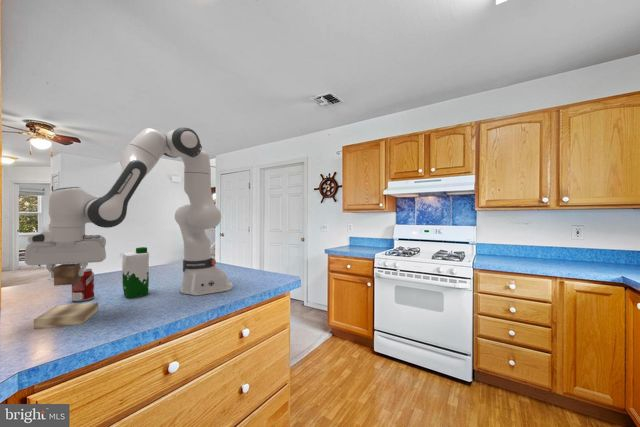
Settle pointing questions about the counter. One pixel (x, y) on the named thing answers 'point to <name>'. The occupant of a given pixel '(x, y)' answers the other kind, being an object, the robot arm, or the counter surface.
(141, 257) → the milk carton
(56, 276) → the walnut block
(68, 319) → the maple plinth
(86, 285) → the soda can
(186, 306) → the counter surface
